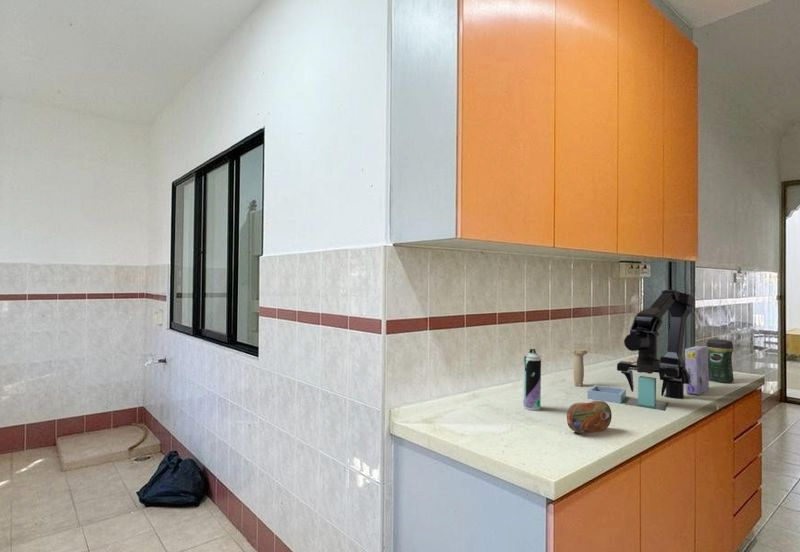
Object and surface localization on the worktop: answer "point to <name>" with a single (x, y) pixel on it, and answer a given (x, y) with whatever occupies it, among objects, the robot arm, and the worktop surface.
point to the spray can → (532, 380)
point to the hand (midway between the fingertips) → (647, 393)
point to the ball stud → (657, 406)
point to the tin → (589, 416)
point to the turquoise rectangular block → (647, 391)
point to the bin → (607, 394)
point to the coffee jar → (720, 360)
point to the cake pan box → (697, 369)
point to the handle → (578, 366)
